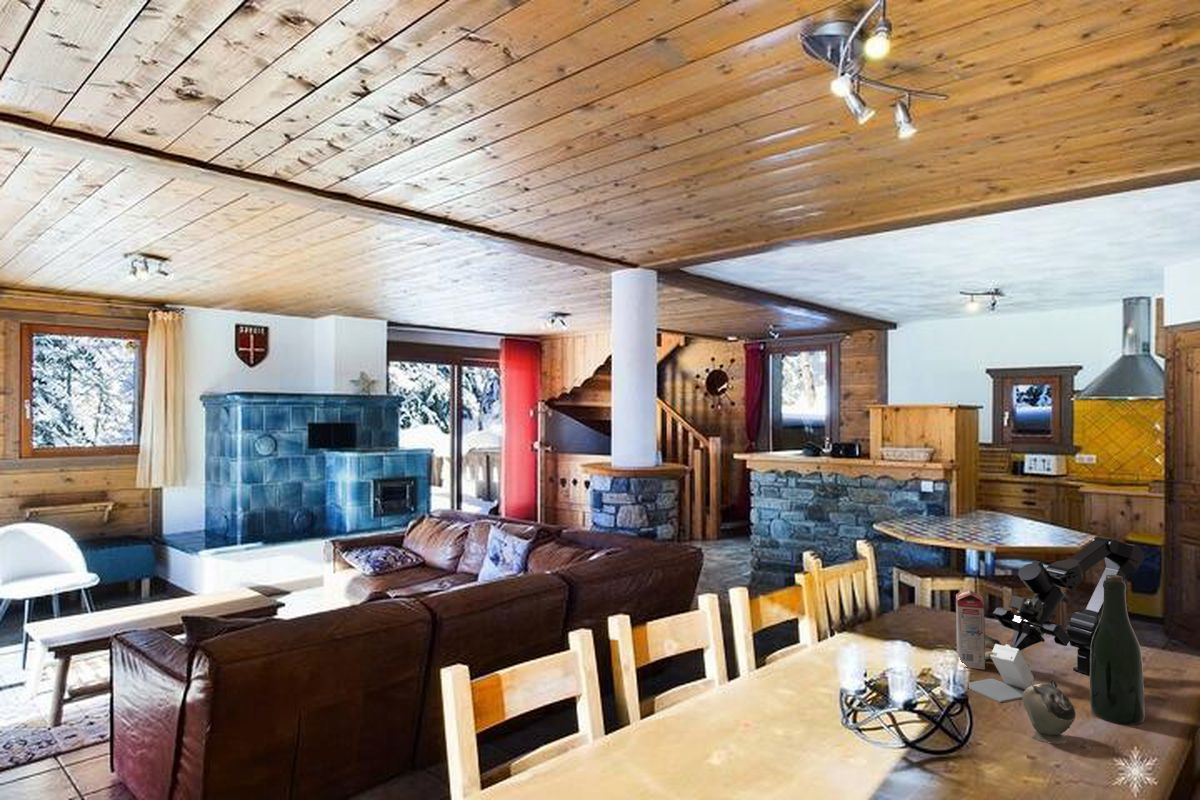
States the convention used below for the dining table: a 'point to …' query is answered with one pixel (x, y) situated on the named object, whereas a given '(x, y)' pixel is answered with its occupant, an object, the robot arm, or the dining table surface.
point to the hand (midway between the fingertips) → (1013, 651)
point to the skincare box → (1012, 666)
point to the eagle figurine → (991, 645)
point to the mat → (996, 690)
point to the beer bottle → (1116, 661)
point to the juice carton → (970, 629)
